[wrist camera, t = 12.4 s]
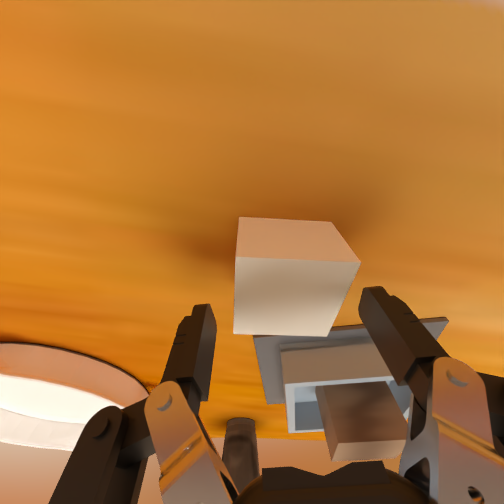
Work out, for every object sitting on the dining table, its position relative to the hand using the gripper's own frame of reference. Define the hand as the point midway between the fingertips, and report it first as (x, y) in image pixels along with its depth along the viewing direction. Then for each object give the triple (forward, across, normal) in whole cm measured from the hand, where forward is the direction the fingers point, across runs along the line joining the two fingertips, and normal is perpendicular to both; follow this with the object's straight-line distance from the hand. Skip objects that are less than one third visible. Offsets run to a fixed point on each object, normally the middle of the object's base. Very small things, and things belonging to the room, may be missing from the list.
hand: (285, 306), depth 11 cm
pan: (+6, +28, +18) cm, 34 cm away
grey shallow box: (+4, -6, +17) cm, 19 cm away
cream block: (+5, 0, 0) cm, 5 cm away
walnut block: (+3, -6, +17) cm, 19 cm away
